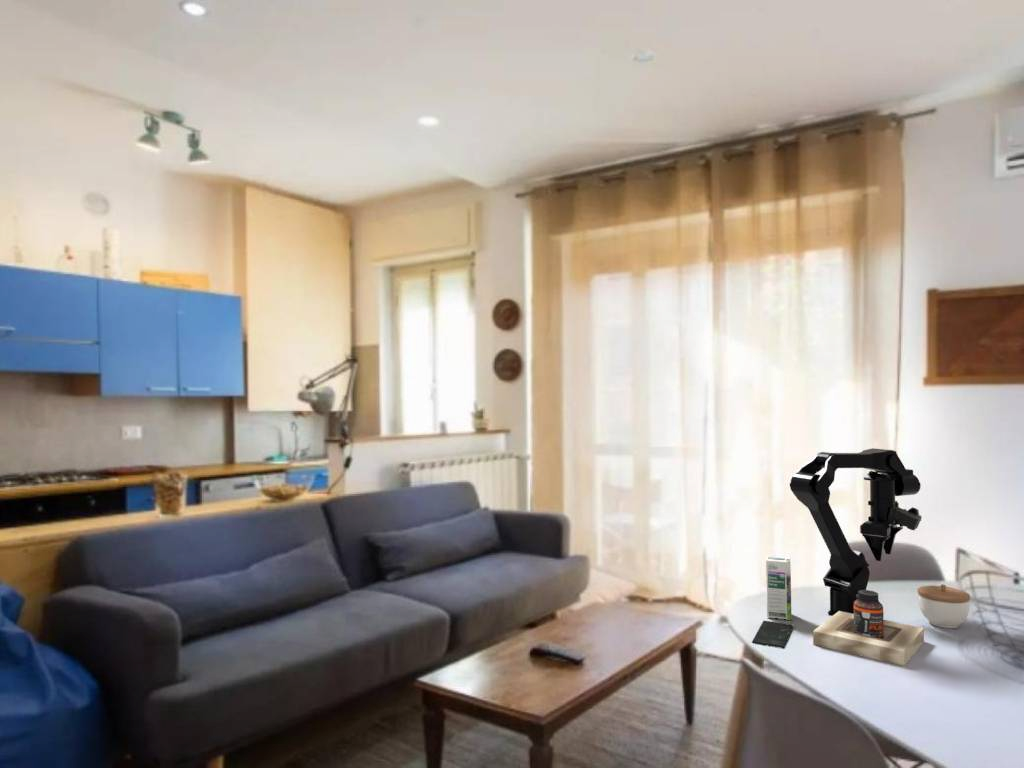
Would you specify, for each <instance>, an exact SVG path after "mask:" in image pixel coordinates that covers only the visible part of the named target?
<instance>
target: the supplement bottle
mask: <svg viewBox="0 0 1024 768" xmlns="http://www.w3.org/2000/svg"><path fill="white" fill-rule="evenodd" d="M858 597H859V598H858V599H857V600H855V602H854V633H857V634H862V635H866V636H871V637H875V638H880V639H883V638H884V636H883V634H884V632H883V620H884V606H883V604H882V603H881V602H880V600H879V593H878V592H876V591H874V590H868V589H866V590H860V591H859V592H858Z"/></svg>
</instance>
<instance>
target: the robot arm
mask: <svg viewBox="0 0 1024 768" xmlns="http://www.w3.org/2000/svg"><path fill="white" fill-rule="evenodd" d="M822 469H824V471H823V472H822V474H821V475H820V474H817V473H819V472H820V471H821V470H822ZM838 469H866V470H870V471H868V473H866V475H865V476H864V477H863V480H864V481H869V482H870V483H869V487H870V488H869V489H870V490H869V492H870V493H869V495H870V497H869V500H868V501H867V505H868V506H869V507H870V509H869V511H870V516H868V517H867V518H868V519H867V520H866V521H865V522H863V523H862V524H860V526H859V529H860V530H859V534H861V535H862V537H863V538H864V540H865V541H866V543H867V546H868V547H869V549H870V551H871V552H872V553H871V554H872V555H873V557H874V559H875V561H876V562H882V559H883V558H882V557H883V552H885V555H891V554H892V550H893V546H894V543H895V540H896V536H897V533H899V532H900V531H902V530H903V529H904V527H906V528H907V529H908V530H911V531H915V530H916V529H918V527H919V525H920V522H921V521H922V515H920V511H919V509H918V508H916V507H914V506H913V507H911V508H909V509H908V510H907V508H903V507H902V508H901V507H900V506H899V505H900V503H899V502H898V500H896V497H902V496H912V495H914V496H915V495H917V494H918V493H919V491H920V490H921V482H920V479H919V478H918V477H917V476H916V475H915V474H914V469H910V468H909V469H908V468H906V467H905V465H904V463H903V462H902V460H901V458H900V457H899V456H898V452H897V451H895V450H893V449H884V448H882V449H881V448H868V449H865V450H864V449H863V450H862V451H860V452H824V451H820V452H817V454H816V455H814V457H813V458H812V459H811V460H809V461H808V462H806V463H805V464H803V465H802V466H800V467H799V469H798V470H797V471H796V472H795V473H793V474H794V475H792V477H791V479H790V482H789V488H790V491H791V492H792V493H793V495H794V496H795V498H796V499H797V500H798V501H799V502H800V503H801V504H802V505H804V506H805V507H806V509H808V511H809V513H810V515H811V516H812V519H813V521H814V523H815V524H816V527H817V529H818V531H819V533H820V535H821V537H822V540H823V541H824V543H825V545H826V547H827V549H828V552H829V553H830V557H829V566H830V568H829V569H828V571H827V573H826V574H825V575H824V576H823V578H822V580H823V583H824V586H825V587H828V588H829V610H828V611H827V614H828V615H831V616H833V615H834V614H836V613H837V612H838V611H842V612H847V613H852V614H854V602H855V600H857V599H858V598H859V597H858V592H859V591H860V590H867V587H868V583H869V579H870V574H871V573H870V569H869V567H870V564H869V563H868V562H867V560H866V557H865V555H864V552H862V551H858V550H854V549H852V548H851V545H850V544H849V541H848V540H847V538H846V536H845V534H844V532H843V530H842V528H841V526H840V524H839V522H838V520H837V518H836V517H837V516H836V515H835V513H834V511H833V509H832V507H831V504H830V496H831V490H830V486H831V485H832V484H833V483H834V481H835V477H836V474H835V473H836V471H837V470H838ZM898 525H899V526H898ZM841 581H842V582H841ZM848 583H849V584H848Z"/></svg>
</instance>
